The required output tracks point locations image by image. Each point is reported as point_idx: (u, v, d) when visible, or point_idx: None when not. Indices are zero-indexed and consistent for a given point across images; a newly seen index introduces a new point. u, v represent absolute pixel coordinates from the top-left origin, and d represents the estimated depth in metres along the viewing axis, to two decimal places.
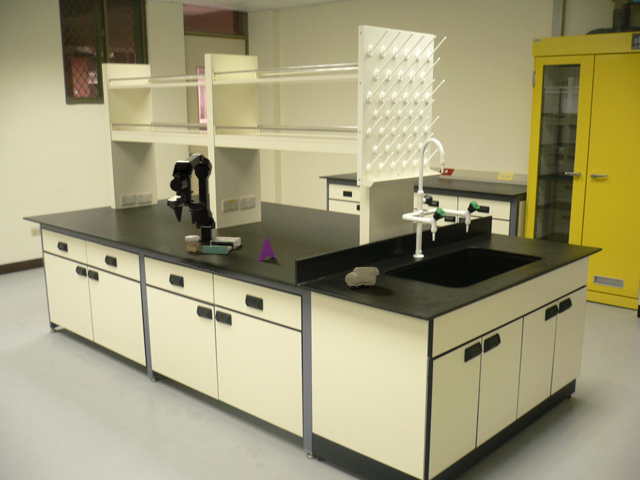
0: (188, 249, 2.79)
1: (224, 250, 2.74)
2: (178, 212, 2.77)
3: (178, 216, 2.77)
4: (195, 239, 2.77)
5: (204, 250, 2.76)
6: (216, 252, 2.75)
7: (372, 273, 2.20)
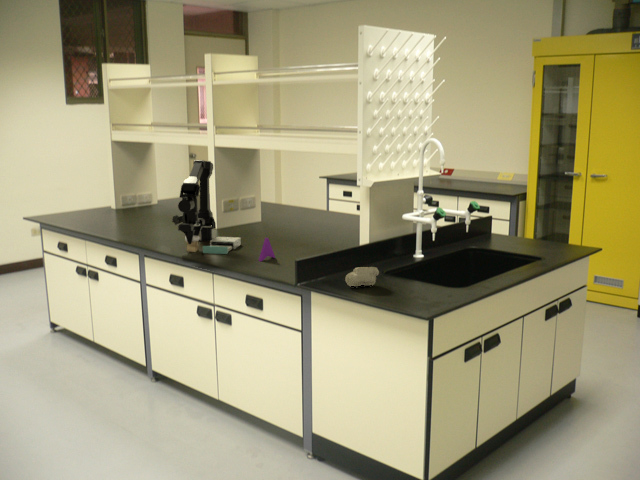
0: (188, 249, 2.79)
1: (224, 250, 2.74)
2: (194, 232, 2.82)
3: None
4: (195, 239, 2.77)
5: (204, 250, 2.76)
6: (216, 252, 2.75)
7: (372, 273, 2.20)
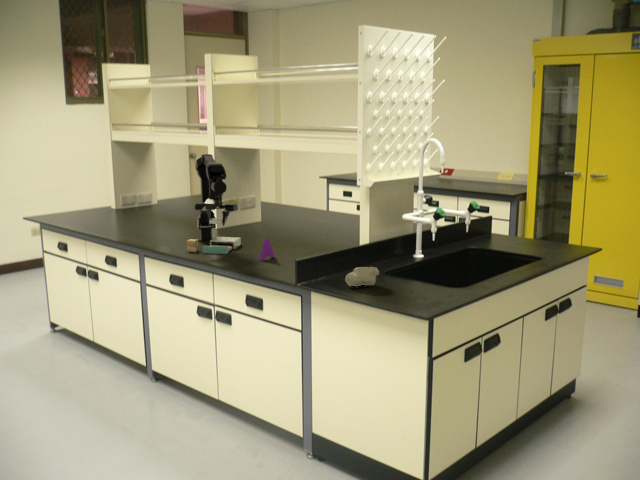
0: (188, 249, 2.79)
1: (224, 250, 2.74)
2: (208, 215, 2.78)
3: None
4: None
5: (204, 250, 2.76)
6: (216, 252, 2.75)
7: (372, 273, 2.20)
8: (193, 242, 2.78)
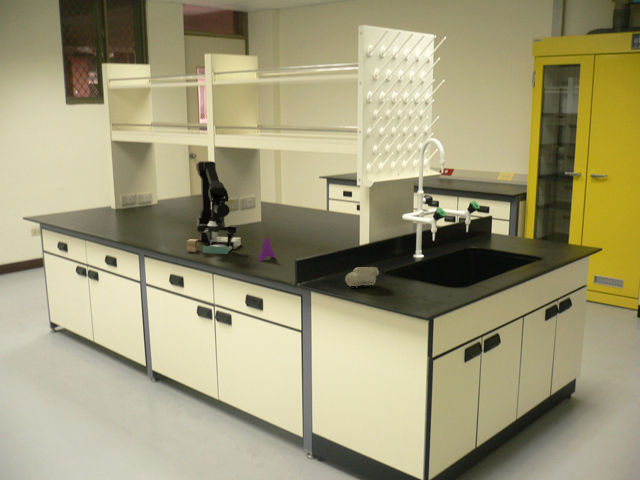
0: (188, 249, 2.79)
1: (224, 250, 2.74)
2: (208, 237, 2.80)
3: (208, 241, 2.80)
4: None
5: (204, 250, 2.76)
6: (216, 252, 2.75)
7: (372, 273, 2.20)
8: (193, 242, 2.78)
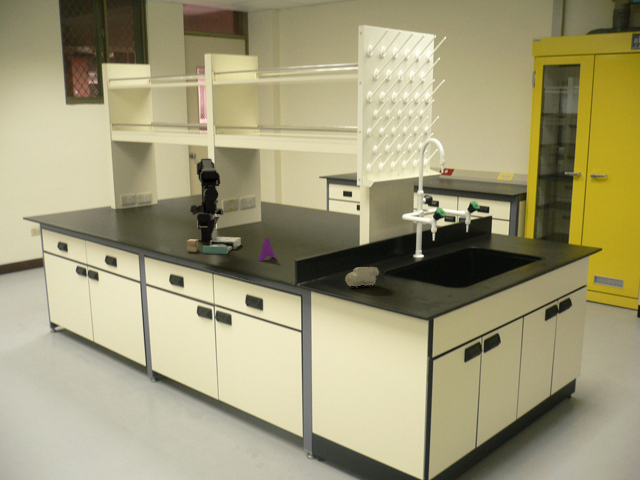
0: (188, 249, 2.79)
1: (224, 250, 2.74)
2: None
3: None
4: None
5: (204, 250, 2.76)
6: (216, 252, 2.75)
7: (372, 273, 2.20)
8: (193, 242, 2.78)
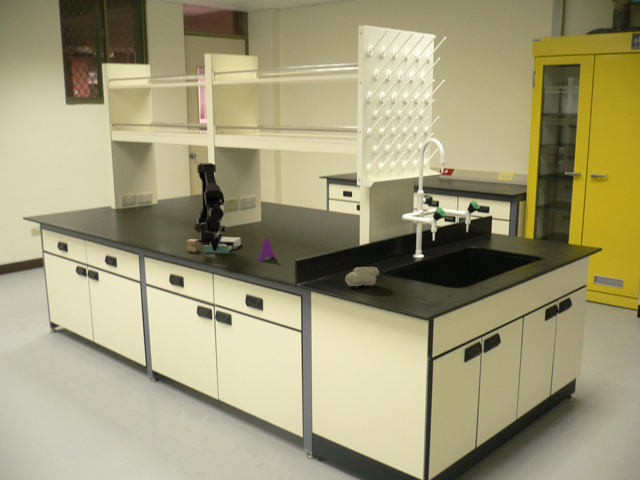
0: (188, 249, 2.79)
1: (225, 249, 2.76)
2: None
3: None
4: None
5: (205, 249, 2.77)
6: (217, 251, 2.76)
7: (372, 273, 2.20)
8: (193, 242, 2.78)
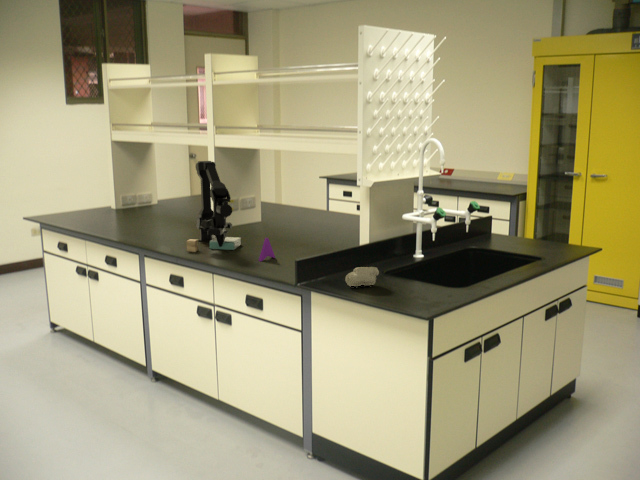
0: (188, 249, 2.79)
1: (230, 246, 2.83)
2: None
3: None
4: None
5: (211, 246, 2.85)
6: (222, 248, 2.84)
7: (372, 273, 2.20)
8: (193, 242, 2.78)
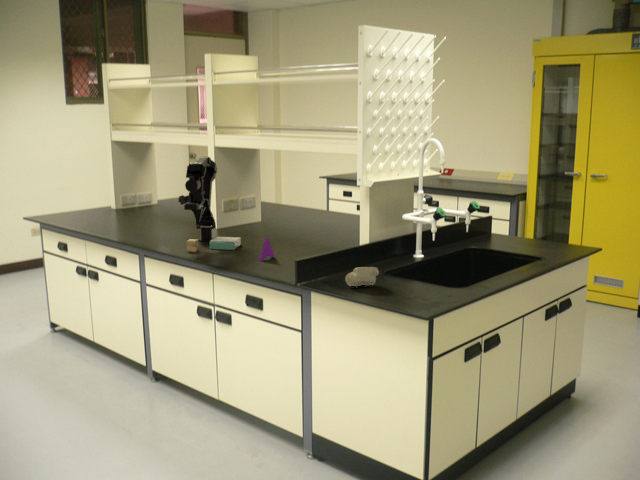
0: (188, 249, 2.79)
1: (230, 246, 2.83)
2: None
3: None
4: None
5: (211, 246, 2.85)
6: (222, 248, 2.84)
7: (372, 273, 2.20)
8: (193, 242, 2.78)
